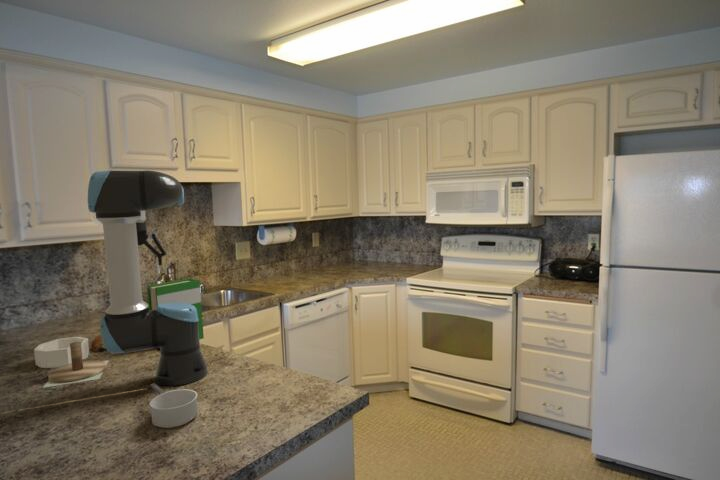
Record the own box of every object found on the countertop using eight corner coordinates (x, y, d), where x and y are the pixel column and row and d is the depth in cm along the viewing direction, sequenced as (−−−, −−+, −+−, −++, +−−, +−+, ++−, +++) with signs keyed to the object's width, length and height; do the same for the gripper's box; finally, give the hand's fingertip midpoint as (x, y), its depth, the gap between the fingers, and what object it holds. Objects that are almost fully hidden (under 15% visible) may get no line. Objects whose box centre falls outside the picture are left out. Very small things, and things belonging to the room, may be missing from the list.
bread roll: (124, 355, 174) (128, 334, 177) (107, 352, 165) (112, 330, 167) (100, 355, 175) (104, 334, 178) (82, 352, 166) (87, 330, 168)
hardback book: (161, 350, 167) (156, 287, 164) (151, 347, 171) (146, 285, 169) (203, 338, 180) (199, 279, 178) (193, 335, 185) (189, 278, 183)
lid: (101, 377, 141) (98, 346, 140) (41, 386, 135) (38, 354, 134) (109, 360, 156) (107, 333, 155) (56, 368, 150) (53, 339, 149)
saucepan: (174, 396, 127) (173, 377, 126) (207, 418, 113) (205, 397, 112) (131, 410, 119) (129, 390, 118) (161, 436, 105) (159, 414, 104)
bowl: (83, 365, 154) (81, 346, 154) (31, 372, 149) (29, 353, 148) (92, 351, 168) (90, 335, 168) (45, 358, 163) (43, 340, 162)
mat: (99, 380, 140) (99, 378, 140) (42, 389, 134) (42, 387, 134) (109, 361, 157) (108, 360, 156) (59, 368, 151) (59, 367, 151)
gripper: (170, 220, 183) (174, 271, 185) (101, 223, 174) (106, 276, 176) (169, 220, 176) (173, 273, 178) (97, 224, 167) (102, 279, 169)
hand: (139, 275), depth 177 cm, fingers open, 13 cm apart
